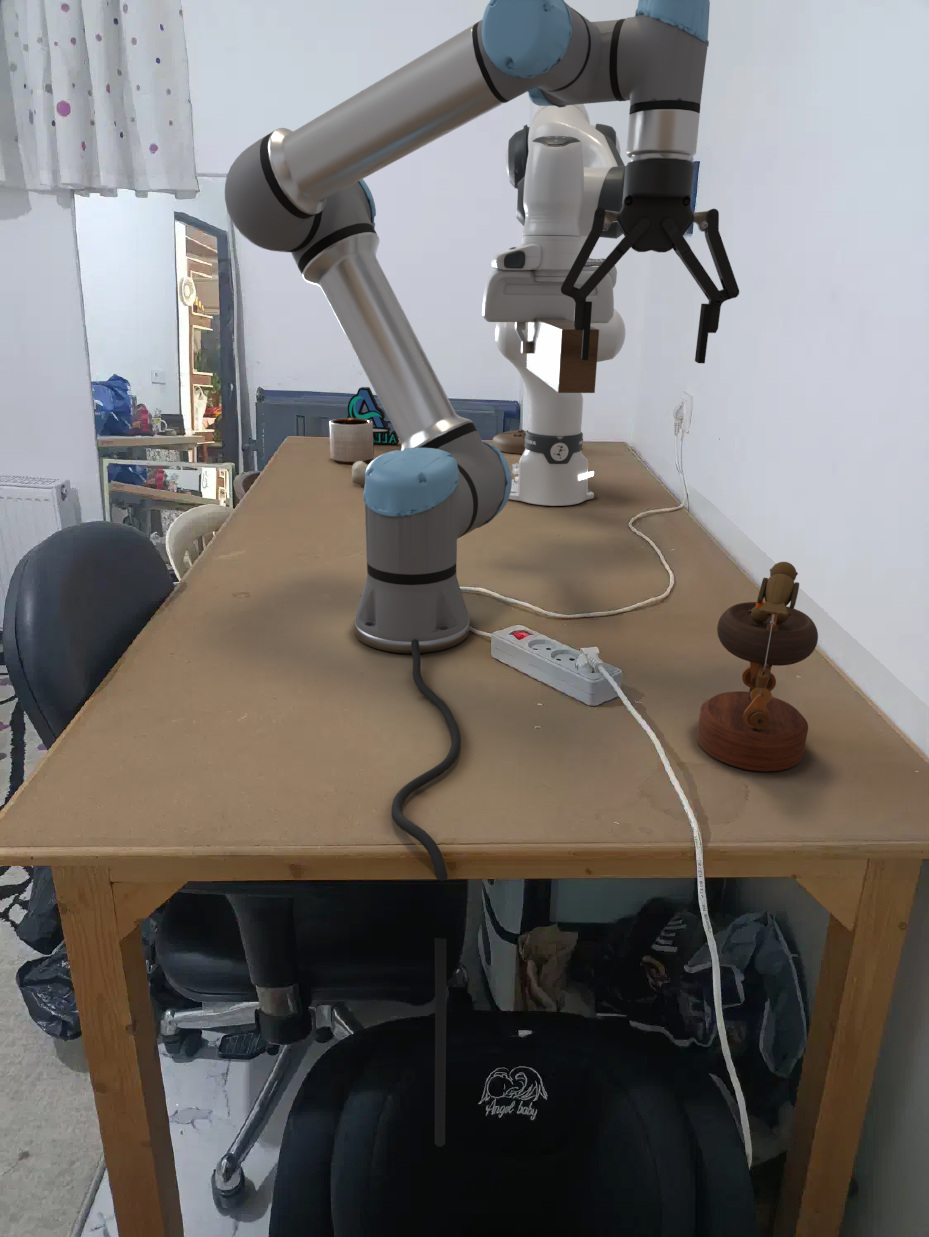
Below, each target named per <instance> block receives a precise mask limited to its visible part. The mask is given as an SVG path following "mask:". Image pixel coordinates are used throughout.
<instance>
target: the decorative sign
mask: <svg viewBox="0 0 929 1237" xmlns="http://www.w3.org/2000/svg"><path fill="white" fill-rule="evenodd" d="M364 407H366V410H365V411H363V410H364ZM346 418H362V419H368V420H371V421H372V425H373V445H396V446H397V445H398V444H400V439H399V437H398V435H397V433H396V431H395V430H392V431H391V427H390V426H387V423H386V420H385V418H386V412H385V410H384V409H382V408H381V407H380V406H379V404H378V402H377V400H376V398H375V395H374V394H373V391H372V389H371V387H369V386H361V387H359V388H358V390H357V392H356V393H355V394H354V395H352V396H351V398H350V399H349V400H348V404H347V416H346Z"/></svg>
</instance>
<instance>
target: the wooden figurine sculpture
mask: <svg viewBox="0 0 929 1237" xmlns="http://www.w3.org/2000/svg"><path fill="white" fill-rule="evenodd" d="M798 574H799V572H797V569H796V567H795V566H794V565H793V564H792V563H791V562H788V561H779V562H777V563H775V564H774V565H773V566H772V567H771V568H769V575H770V576H769V577H763V578H762V581H761V585H760V588H759V592H758V596H757V600H756V601H747V602H740V603H737V604H734V605H732V606H730V607H728V608H727V609H725V611H723V612H722V614H721V615H720V617H719V620H718V622H717V628H716V632H717V637H718V640H719V641H720V644H721V645H722V646H723V648H724V649H725V650H726V651H727V652H728V653H730V654H731V655H733V656H735V657H736V658H738V659H741V660H743V661H747V662H749V666H747V667H746V668H745V669H744V670H743V672H742V673H741V678H742V679H741V680H742V683H743V684H744V685H745V686H746V687H748V688H749V689H748V691H745V690H744V691H743V690H739V691H737V690H735V691H734V690H733V691H725V692H722V693H719V694H716V695H714V696H712V697H711V698H708V699H707V700H705V701H704V702H703V703H702V705H701V706H700V709H699V710H700V711H699V718H698V724H697V732H696V739H697V742H698V744H699V746H700V748H702V750H703V751H704V752H706V753H707V754H708V755H710V756H711V757H712V758H714V759H716V760H718V761H719V762H722V763H724V764H726V765H729V766H731V767H732V766H733V767H736V768H739V769H743V770H748V771H753V772H754V771H755V772H778V771H783V770H787V769H791V768H792V767H794V766H795V767H796V765H798V764H799V763H800V762H801V761H802V759H803V757H804V752H805V747H806V742H807V737H808V732H809V724H808V721H807V720H806V718H805V716H803V715H802V714H801V712H800V711H799V710H798V709H797V708H796V707H795V706H794V705H792V704H790V703H788V702H786V701H784V700H783V699H781V698H778V697H774V696H772V691H773V690H774V689H775V687H776V685H777V679H776V676H775V675H774V674H773V673H772V671H771V670H772V668H773V667H774V666H777V667H779V666H790V665H795V664H797V663H800V662H802V661H804V660H806V659H808V658H809V657H810V656H811V655H812V654H813V653H814V651H815V649H816V647H817V645H818V641H819V631H818V628H817V626H816V624H815V622H814V621H813V619H812V618H811V617H810V616H809V615H807V614H806V613H805V612H803V611H801V610H799V609H796V608H795V606H796V603H797V598H798V595H799V588H800V583H799V582H797V581H796V578H797V576H798ZM788 605H789V606H788Z"/></svg>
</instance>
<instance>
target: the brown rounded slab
mask: <svg viewBox="0 0 929 1237" xmlns="http://www.w3.org/2000/svg"><path fill="white" fill-rule="evenodd" d="M526 431H527V430H524V429H523V428H522V429H516V430H509V431H504V432H500V433H497V434H495V435H494V436H493V437H492V445H493V446H495V447H496V448H497V449H499V451H500V452H503V453H509V454H518V455H519V454H520V455H522V454H523V453H524V451H525V446H524V445H525V436H526Z"/></svg>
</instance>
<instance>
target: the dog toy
mask: <svg viewBox="0 0 929 1237" xmlns="http://www.w3.org/2000/svg"><path fill="white" fill-rule="evenodd" d="M368 465H369V464H367V462H363V461H358V462H355V463H352V467H351V476H350V477H351V483H353V484H356V485H365V473H366V469H367V467H368Z"/></svg>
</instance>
